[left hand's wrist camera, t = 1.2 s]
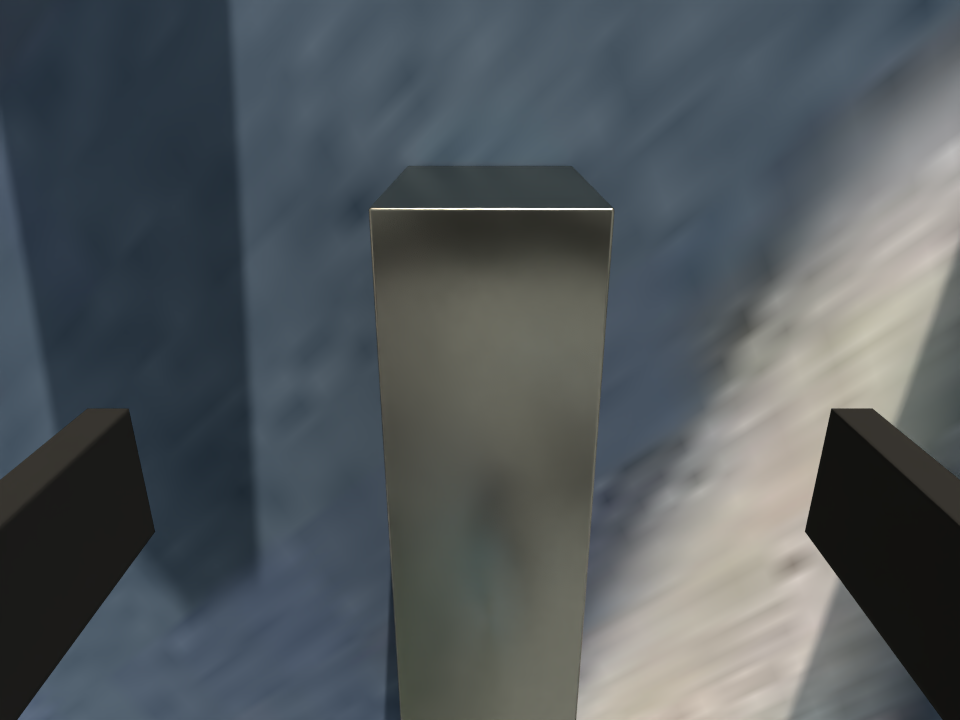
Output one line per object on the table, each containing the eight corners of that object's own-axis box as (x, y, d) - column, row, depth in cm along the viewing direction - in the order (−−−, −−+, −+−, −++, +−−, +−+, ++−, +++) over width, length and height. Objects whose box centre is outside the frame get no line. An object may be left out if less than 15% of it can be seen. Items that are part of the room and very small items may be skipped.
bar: (407, 165, 23) (368, 207, 15) (573, 165, 23) (615, 207, 15) (428, 688, 32) (409, 874, 24) (546, 689, 32) (564, 876, 24)
